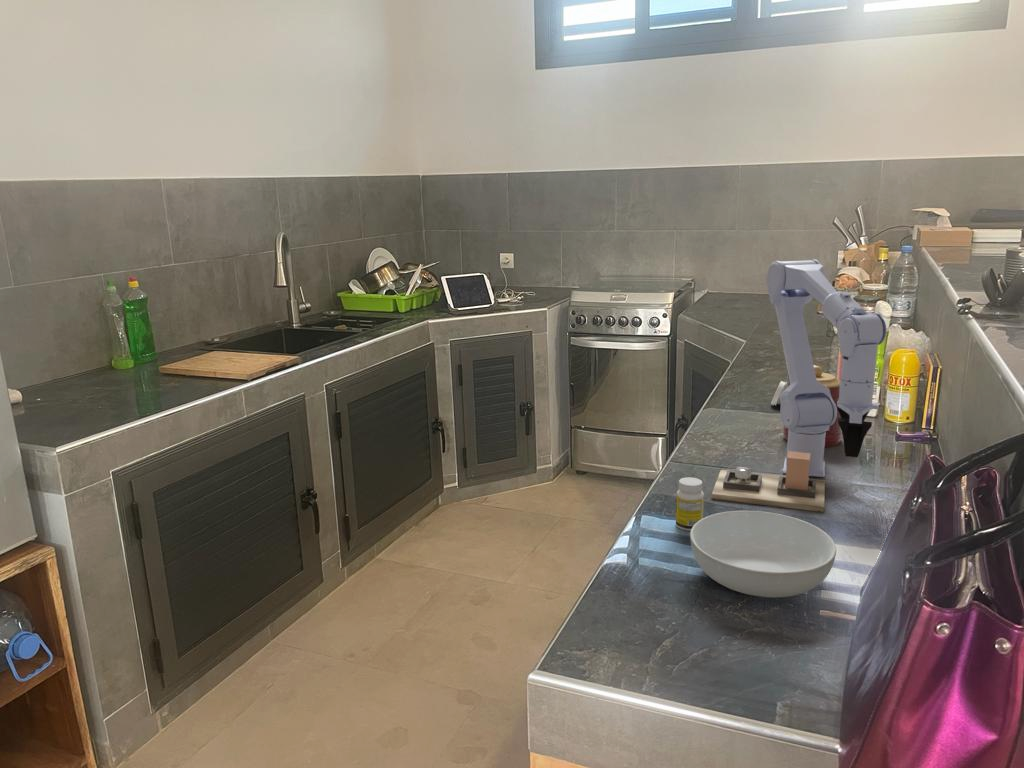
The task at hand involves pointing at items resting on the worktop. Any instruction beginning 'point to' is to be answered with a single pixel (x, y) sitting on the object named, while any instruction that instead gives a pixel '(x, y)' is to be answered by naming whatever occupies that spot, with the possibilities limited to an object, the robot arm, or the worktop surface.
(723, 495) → the board
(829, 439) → the canister
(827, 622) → the worktop surface
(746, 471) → the pin
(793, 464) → the tan tall block
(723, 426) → the worktop surface
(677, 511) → the supplement bottle
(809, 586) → the serving bowl
